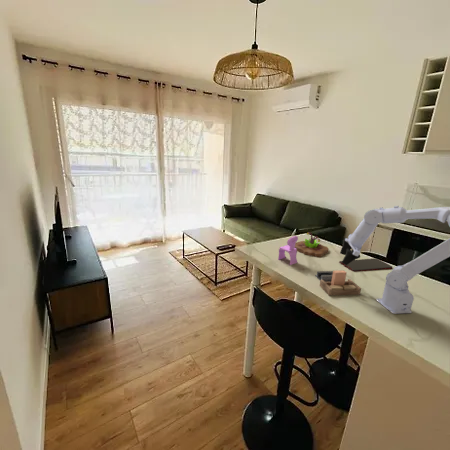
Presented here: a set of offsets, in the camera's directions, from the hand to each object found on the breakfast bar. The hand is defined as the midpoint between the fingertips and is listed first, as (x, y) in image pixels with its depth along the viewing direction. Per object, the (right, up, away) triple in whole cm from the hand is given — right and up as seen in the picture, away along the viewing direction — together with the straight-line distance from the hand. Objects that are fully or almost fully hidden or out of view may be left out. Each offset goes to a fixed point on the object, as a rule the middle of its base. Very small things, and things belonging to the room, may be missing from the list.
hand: (343, 258), depth 110 cm
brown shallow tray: (-3, -13, -2) cm, 14 cm away
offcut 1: (-5, -14, -4) cm, 15 cm away
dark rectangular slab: (+23, -8, +25) cm, 35 cm away
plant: (0, -1, +44) cm, 44 cm away
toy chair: (-18, -5, +26) cm, 32 cm away
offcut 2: (+1, -14, -3) cm, 14 cm away
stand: (-4, -11, +8) cm, 14 cm away
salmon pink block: (-3, -13, 0) cm, 13 cm away
